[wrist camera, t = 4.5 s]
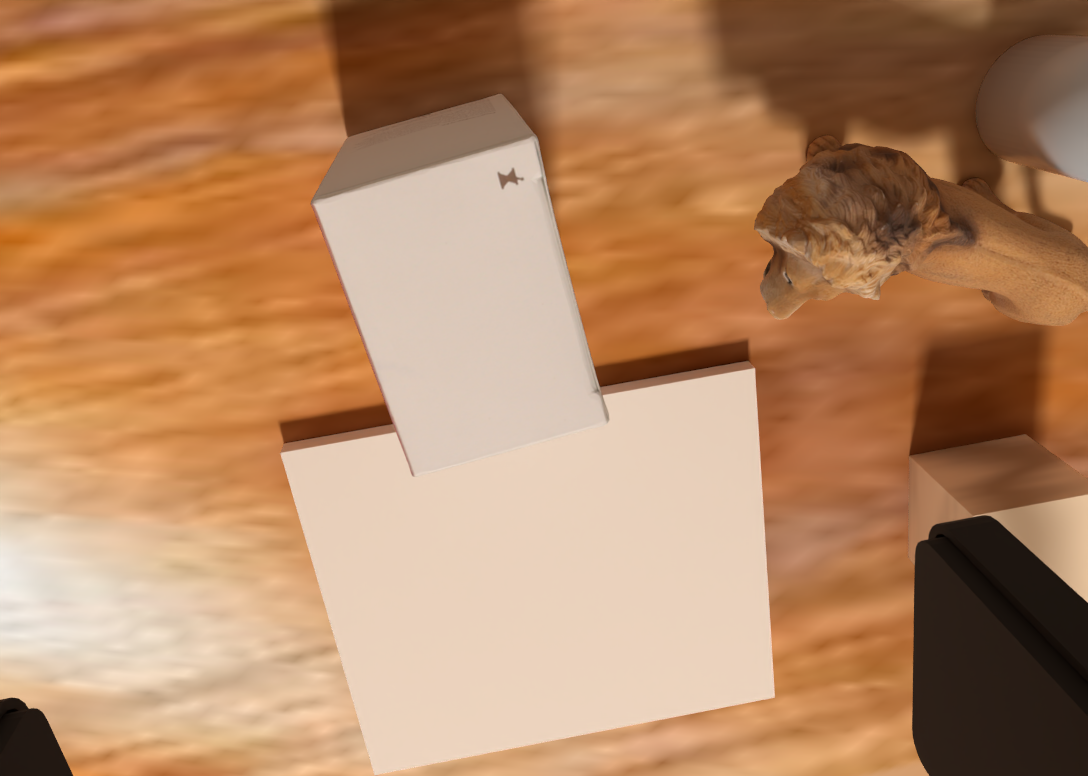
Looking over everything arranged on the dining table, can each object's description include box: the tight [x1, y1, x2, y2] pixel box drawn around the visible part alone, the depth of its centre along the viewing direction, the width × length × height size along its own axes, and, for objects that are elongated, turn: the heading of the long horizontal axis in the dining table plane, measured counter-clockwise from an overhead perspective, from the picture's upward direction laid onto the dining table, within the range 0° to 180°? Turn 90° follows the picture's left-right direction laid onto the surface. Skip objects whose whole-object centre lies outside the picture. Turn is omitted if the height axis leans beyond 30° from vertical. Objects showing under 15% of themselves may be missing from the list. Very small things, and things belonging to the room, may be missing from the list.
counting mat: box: [281, 361, 775, 775], centre depth 38 cm, size 18×16×1 cm
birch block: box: [908, 434, 1088, 602], centre depth 37 cm, size 5×5×5 cm
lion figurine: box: [754, 135, 1088, 326], centre depth 30 cm, size 15×5×9 cm, turn 81°
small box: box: [311, 94, 610, 477], centre depth 27 cm, size 8×6×10 cm
